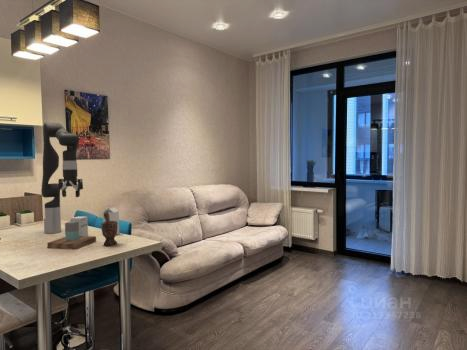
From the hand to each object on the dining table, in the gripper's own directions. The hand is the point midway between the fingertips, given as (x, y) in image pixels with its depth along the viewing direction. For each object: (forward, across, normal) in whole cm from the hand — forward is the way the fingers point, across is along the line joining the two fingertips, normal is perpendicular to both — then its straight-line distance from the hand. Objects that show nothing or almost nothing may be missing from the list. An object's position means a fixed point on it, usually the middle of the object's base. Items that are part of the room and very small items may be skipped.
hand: (71, 196), depth 189 cm
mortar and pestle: (+28, +23, +2) cm, 36 cm away
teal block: (+25, 0, 0) cm, 25 cm away
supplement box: (+28, -9, +18) cm, 34 cm away
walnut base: (+28, 0, 0) cm, 28 cm away
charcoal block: (+20, 0, 0) cm, 20 cm away
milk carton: (+28, +8, +27) cm, 40 cm away
